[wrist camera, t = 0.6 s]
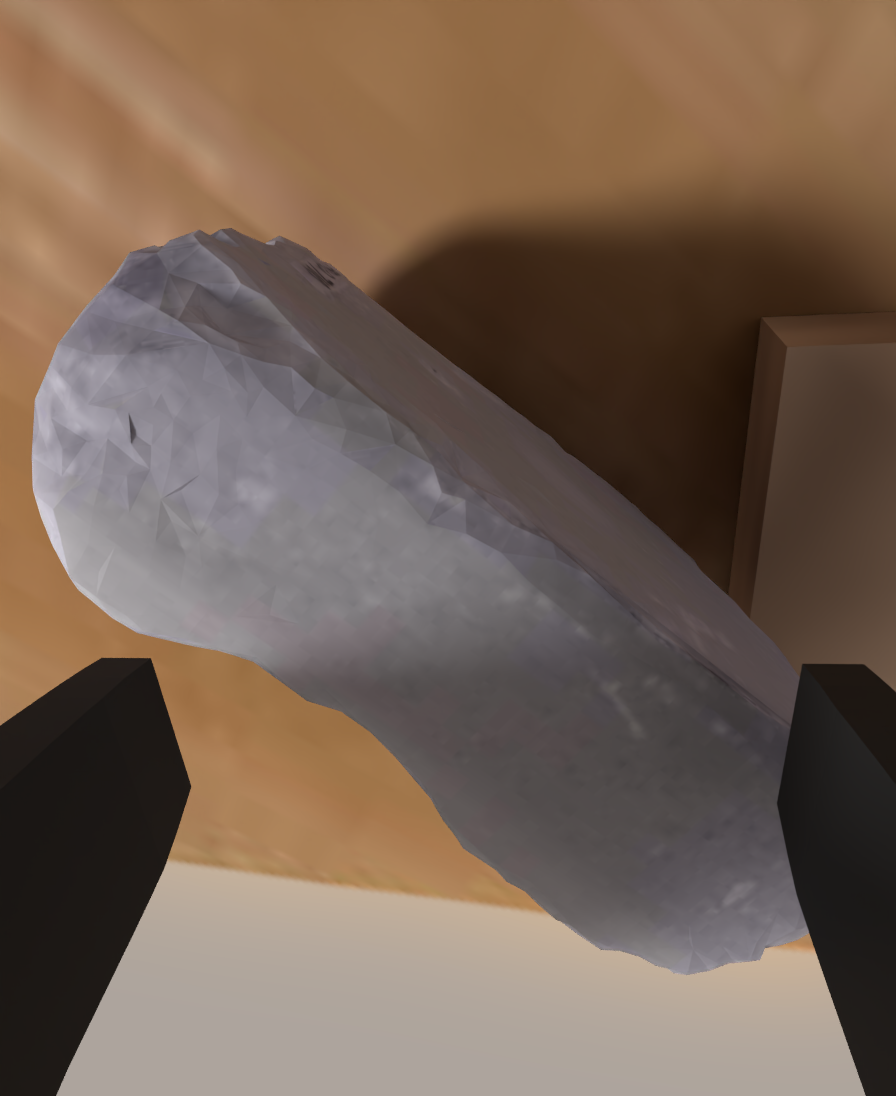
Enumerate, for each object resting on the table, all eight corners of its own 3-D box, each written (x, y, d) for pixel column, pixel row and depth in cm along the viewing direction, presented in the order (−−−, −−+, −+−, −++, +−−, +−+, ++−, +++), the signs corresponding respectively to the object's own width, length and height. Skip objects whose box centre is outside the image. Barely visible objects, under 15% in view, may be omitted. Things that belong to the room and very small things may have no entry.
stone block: (777, 523, 18) (988, 936, 9) (614, 645, 20) (664, 1074, 11) (360, 117, 15) (100, 177, 6) (218, 312, 17) (-123, 560, 8)
